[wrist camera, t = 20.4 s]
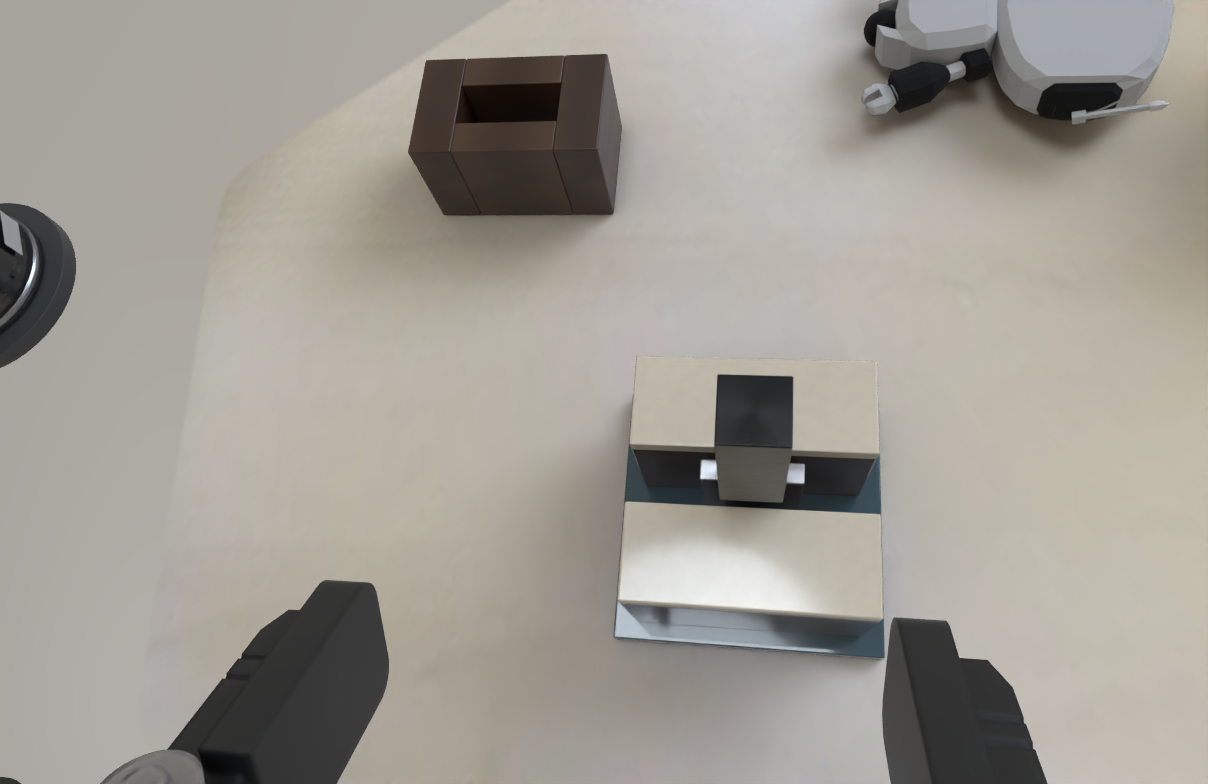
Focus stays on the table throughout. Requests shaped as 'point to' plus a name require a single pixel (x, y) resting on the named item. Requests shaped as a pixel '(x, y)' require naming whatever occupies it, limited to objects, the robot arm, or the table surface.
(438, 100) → the brown rectangular frame
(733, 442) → the dark grey tall bar
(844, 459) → the slotted fixture
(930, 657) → the robot arm
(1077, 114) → the robot toy
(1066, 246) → the table surface
